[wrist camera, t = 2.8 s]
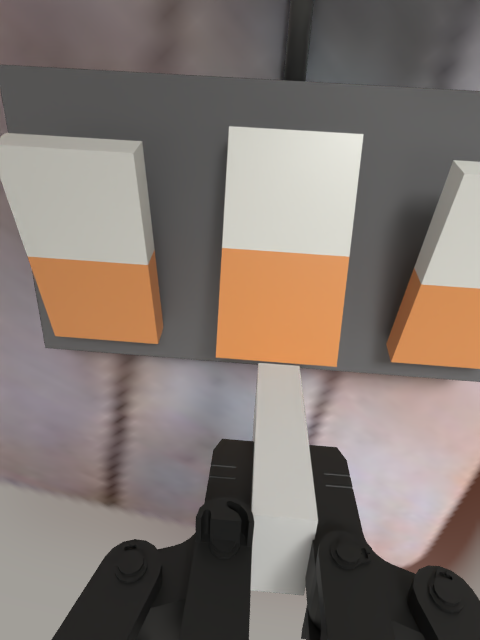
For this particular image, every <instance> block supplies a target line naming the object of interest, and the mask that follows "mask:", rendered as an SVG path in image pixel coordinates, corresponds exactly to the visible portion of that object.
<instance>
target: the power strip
mask: <svg viewBox="0 0 480 640" xmlns="http://www.w3.org/2000/svg"><path fill="white" fill-rule="evenodd" d="M313 4H314V0H290V10H289V22H288V34H287V46H286V57H285V69H284V80H269V79H251V78H233V77H215V76H197V75H179V74H161V73H143V72H125V71H106V70H88V69H70V68H52V67H34V66H16V65H0V89H1V95H2V101H3V106H4V112H5V118H6V124H7V129H8V133H15V134H32V135H48V136H65V137H81V138H97V139H114V140H130V141H142V144H143V153H144V162H145V170H146V179H147V188H148V197H149V205H150V214H151V223H152V231H153V240H154V249H155V258H156V266H157V275H158V284H159V293H160V301H161V310H162V319H163V330H162V334H161V337H160V340H159V343H158V344H150V343H137V342H124V341H112V340H99V339H86V338H73V337H60V336H55V334H54V331H53V328H52V326H51V323H50V320H49V317H48V314H47V311H46V308H45V305H44V303H43V300H42V297H41V294H40V291H39V288H38V285H37V282H36V280H35V277H34V274H33V279H34V285H35V291H36V297H37V302H38V308H39V314H40V320H41V325H42V331H43V337H44V343H45V348H53V349H66V350H79V351H91V352H104V353H117V354H130V355H142V356H155V357H168V358H181V359H194V360H206V361H219V362H232V363H245V364H257V365H258V363H267V364H280V365H293V366H300V368H308V369H321V370H334V371H347V372H360V373H372V374H385V375H398V376H411V377H423V378H436V379H449V380H462V381H475V382H480V369H474V368H461V367H448V366H435V365H422V364H409V363H396V362H391V360H390V357H389V353H388V349H387V345H386V343H387V341H388V338H389V335H390V332H391V330H392V327H393V324H394V321H395V319H396V316H397V313H398V311H399V308H400V305H401V302H402V300H403V297H404V294H405V291H406V289H407V286H408V283H409V280H410V278H411V275H412V272H413V269H414V267H415V264H416V261H417V259H418V256H419V253H420V250H421V248H422V245H423V242H424V239H425V237H426V234H427V231H428V228H429V226H430V223H431V220H432V217H433V215H434V212H435V209H436V206H437V204H438V201H439V198H440V196H441V193H442V190H443V187H444V185H445V182H446V179H447V176H448V174H449V171H450V168H451V165H452V163H453V160H458V161H475V162H480V91H467V90H449V89H431V88H413V87H395V86H377V85H359V84H341V83H323V82H305V80H306V70H307V61H308V51H309V42H310V32H311V23H312V13H313ZM229 126H234V127H251V128H267V129H284V130H301V131H318V132H335V133H352V134H364V135H363V143H362V152H361V161H360V169H359V178H358V187H357V195H356V204H355V213H354V221H353V230H352V238H351V247H350V256H349V264H348V273H347V282H346V290H345V299H344V308H343V316H342V325H341V333H340V342H339V351H338V359H337V367H331V366H318V365H305V364H292V363H280V362H267V361H254V360H241V359H228V358H216V344H217V327H218V309H219V292H220V275H221V257H222V240H223V223H224V205H225V188H226V171H227V153H228V136H229ZM32 273H33V271H32Z"/></svg>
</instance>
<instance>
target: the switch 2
mask: <svg viewBox="0 0 480 640" xmlns="http://www.w3.org/2000/svg"><path fill="white" fill-rule="evenodd" d="M386 345H387V349H388V353H389V357H390V360H391V362H396V363H409V364H422V365H435V366H448V367H461V368H474V369H480V162H475V161H458V160H453V163H452V165H451V168H450V171H449V174H448V176H447V179H446V182H445V185H444V187H443V190H442V193H441V196H440V198H439V201H438V204H437V206H436V209H435V212H434V215H433V217H432V220H431V223H430V226H429V228H428V231H427V234H426V237H425V239H424V242H423V245H422V248H421V250H420V253H419V256H418V259H417V261H416V264H415V267H414V269H413V272H412V275H411V278H410V280H409V283H408V286H407V289H406V291H405V294H404V297H403V300H402V302H401V305H400V308H399V311H398V313H397V316H396V319H395V321H394V324H393V327H392V330H391V332H390V335H389V338H388V341H387V343H386Z"/></svg>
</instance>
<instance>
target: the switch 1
mask: <svg viewBox="0 0 480 640" xmlns="http://www.w3.org/2000/svg"><path fill="white" fill-rule="evenodd" d="M0 179H1V182H2V185H3V188H4V190H5V193H6V196H7V199H8V202H9V205H10V208H11V211H12V213H13V216H14V219H15V222H16V225H17V228H18V231H19V234H20V236H21V239H22V242H23V245H24V248H25V251H26V254H27V257H28V259H29V262H30V265H31V268H32V271H33V274H34V277H35V280H36V282H37V285H38V288H39V291H40V294H41V297H42V300H43V303H44V305H45V308H46V311H47V314H48V317H49V320H50V323H51V326H52V328H53V331H54V334H55V336H60V337H73V338H86V339H99V340H112V341H124V342H137V343H150V344H158V343H159V340H160V337H161V334H162V330H163V319H162V310H161V301H160V293H159V284H158V275H157V266H156V258H155V249H154V240H153V231H152V223H151V214H150V205H149V197H148V188H147V179H146V170H145V162H144V153H143V144H142V141H130V140H114V139H97V138H81V137H65V136H48V135H32V134H15V133H5V134H3V135H2V136H0Z"/></svg>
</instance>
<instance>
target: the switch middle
mask: <svg viewBox="0 0 480 640" xmlns="http://www.w3.org/2000/svg"><path fill="white" fill-rule="evenodd" d="M363 135H364V134H352V133H335V132H318V131H301V130H284V129H267V128H251V127H234V126H229V136H228V153H227V171H226V188H225V205H224V223H223V240H222V257H221V275H220V292H219V309H218V327H217V344H216V358H228V359H241V360H254V361H267V362H280V363H292V364H305V365H318V366H331V367H337V359H338V351H339V342H340V333H341V325H342V316H343V308H344V299H345V290H346V282H347V273H348V264H349V256H350V247H351V238H352V230H353V221H354V213H355V204H356V195H357V187H358V178H359V169H360V161H361V152H362V143H363Z"/></svg>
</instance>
